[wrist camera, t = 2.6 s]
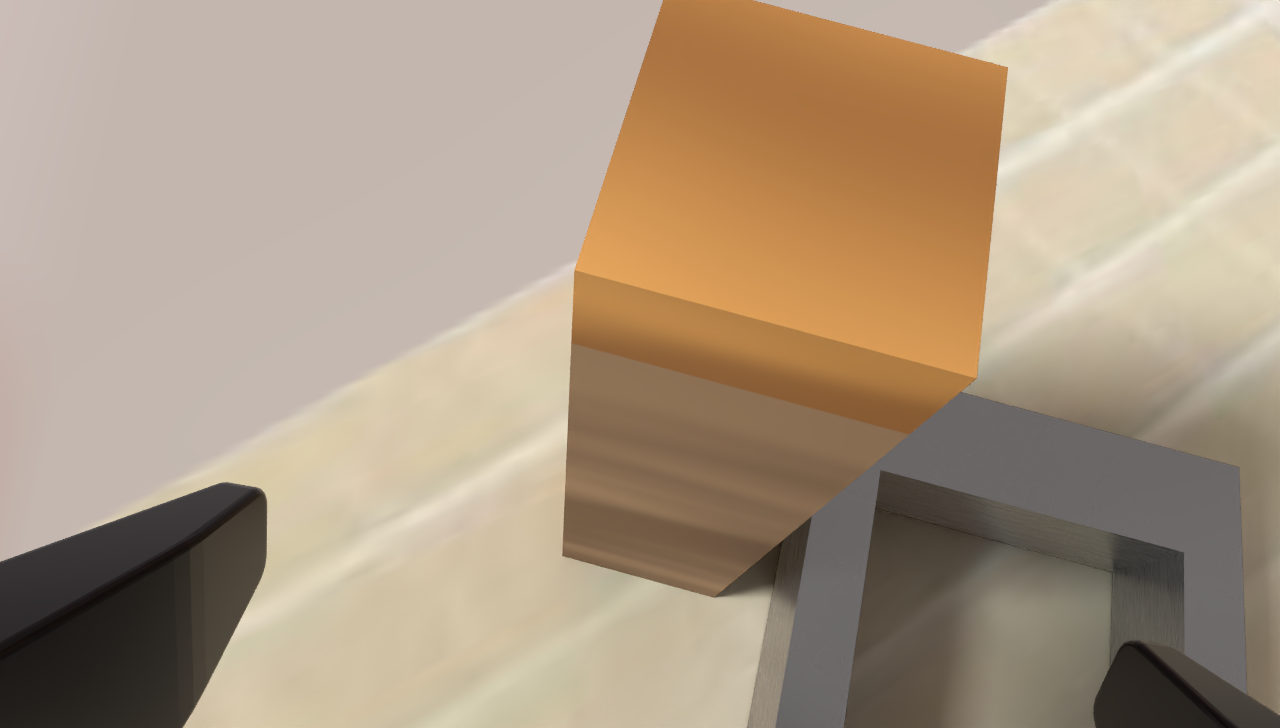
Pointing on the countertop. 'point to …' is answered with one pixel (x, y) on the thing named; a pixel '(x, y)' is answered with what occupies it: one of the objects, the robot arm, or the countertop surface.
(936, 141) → the walnut pin
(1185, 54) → the countertop surface
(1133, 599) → the grey rectangular frame
